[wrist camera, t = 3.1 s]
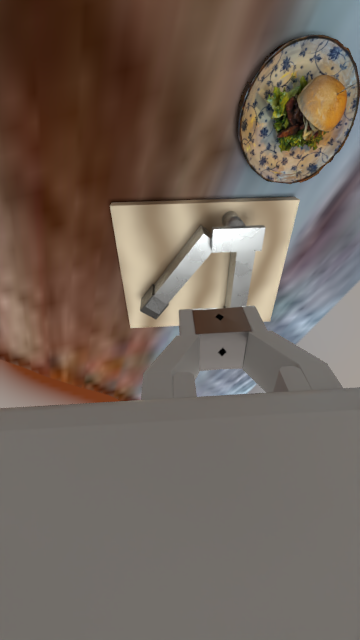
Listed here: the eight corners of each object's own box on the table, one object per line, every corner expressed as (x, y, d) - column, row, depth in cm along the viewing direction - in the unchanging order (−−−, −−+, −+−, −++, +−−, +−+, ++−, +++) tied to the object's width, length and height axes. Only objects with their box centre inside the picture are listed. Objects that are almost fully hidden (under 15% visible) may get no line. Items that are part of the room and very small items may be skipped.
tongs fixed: (207, 211, 31) (213, 224, 27) (254, 210, 31) (266, 222, 28) (202, 322, 41) (206, 342, 38) (237, 320, 41) (245, 340, 38)
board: (131, 322, 42) (130, 328, 41) (111, 202, 31) (109, 205, 30) (266, 315, 43) (269, 321, 42) (294, 196, 32) (299, 199, 31)
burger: (214, 104, 27) (229, 101, 21) (329, -4, 23) (389, -45, 17) (266, 204, 33) (289, 223, 27) (364, 132, 29) (417, 137, 23)
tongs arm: (199, 223, 32) (202, 232, 29) (215, 236, 33) (219, 245, 30) (141, 298, 38) (139, 310, 35) (156, 307, 39) (156, 319, 36)
